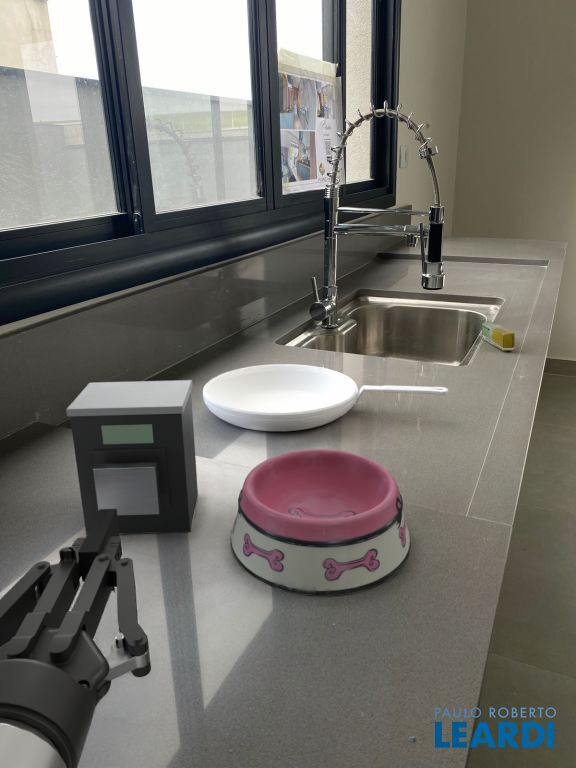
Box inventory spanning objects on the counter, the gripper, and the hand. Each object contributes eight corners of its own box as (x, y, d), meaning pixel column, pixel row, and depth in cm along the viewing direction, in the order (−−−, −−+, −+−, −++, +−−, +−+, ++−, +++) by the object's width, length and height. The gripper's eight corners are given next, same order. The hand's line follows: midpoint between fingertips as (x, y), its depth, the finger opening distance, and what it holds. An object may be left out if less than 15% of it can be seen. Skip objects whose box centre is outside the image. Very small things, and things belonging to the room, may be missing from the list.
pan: (224, 382, 112) (223, 360, 111) (439, 389, 107) (440, 366, 106) (183, 435, 89) (181, 408, 88) (455, 448, 83) (458, 419, 82)
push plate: (159, 514, 60) (155, 467, 59) (98, 516, 60) (92, 469, 59) (161, 508, 62) (157, 461, 60) (101, 510, 61) (96, 463, 60)
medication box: (481, 339, 140) (480, 322, 139) (492, 337, 141) (492, 321, 139) (503, 351, 129) (503, 333, 128) (515, 350, 129) (515, 331, 128)
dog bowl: (412, 606, 53) (417, 538, 50) (207, 585, 56) (203, 520, 53) (409, 501, 70) (412, 447, 68) (252, 490, 73) (250, 438, 71)
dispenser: (191, 533, 64) (182, 406, 59) (83, 537, 64) (65, 409, 59) (200, 494, 72) (192, 379, 68) (103, 497, 72) (89, 382, 67)
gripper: (-116, 828, 32) (40, 561, 54) (134, 816, 32) (187, 556, 55) (-150, 718, 29) (28, 486, 52) (120, 706, 30) (181, 481, 52)
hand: (109, 522), depth 53 cm, fingers closed
